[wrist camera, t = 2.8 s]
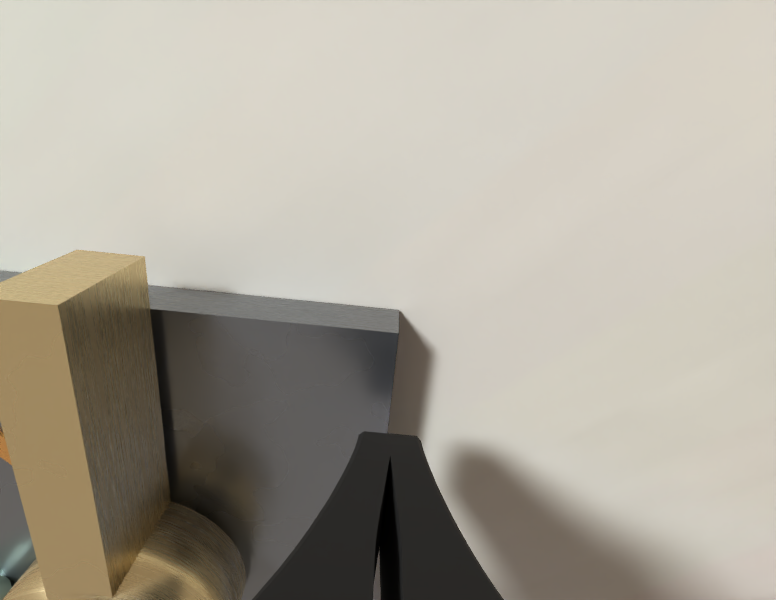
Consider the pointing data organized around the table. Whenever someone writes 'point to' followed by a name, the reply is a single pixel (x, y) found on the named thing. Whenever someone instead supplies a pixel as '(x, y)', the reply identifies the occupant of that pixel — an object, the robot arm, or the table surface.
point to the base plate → (250, 415)
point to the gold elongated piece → (98, 442)
